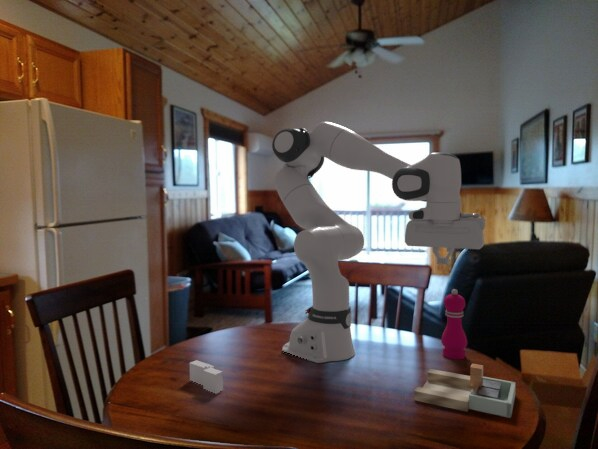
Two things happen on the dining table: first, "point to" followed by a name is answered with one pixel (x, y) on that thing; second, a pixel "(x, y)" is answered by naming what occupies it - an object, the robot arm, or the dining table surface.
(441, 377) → the slot board
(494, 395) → the chip
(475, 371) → the block
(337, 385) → the dining table surface
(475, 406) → the tray
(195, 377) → the white stepped block
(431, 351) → the dining table surface
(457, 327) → the pepper mill
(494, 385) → the dark grey block
